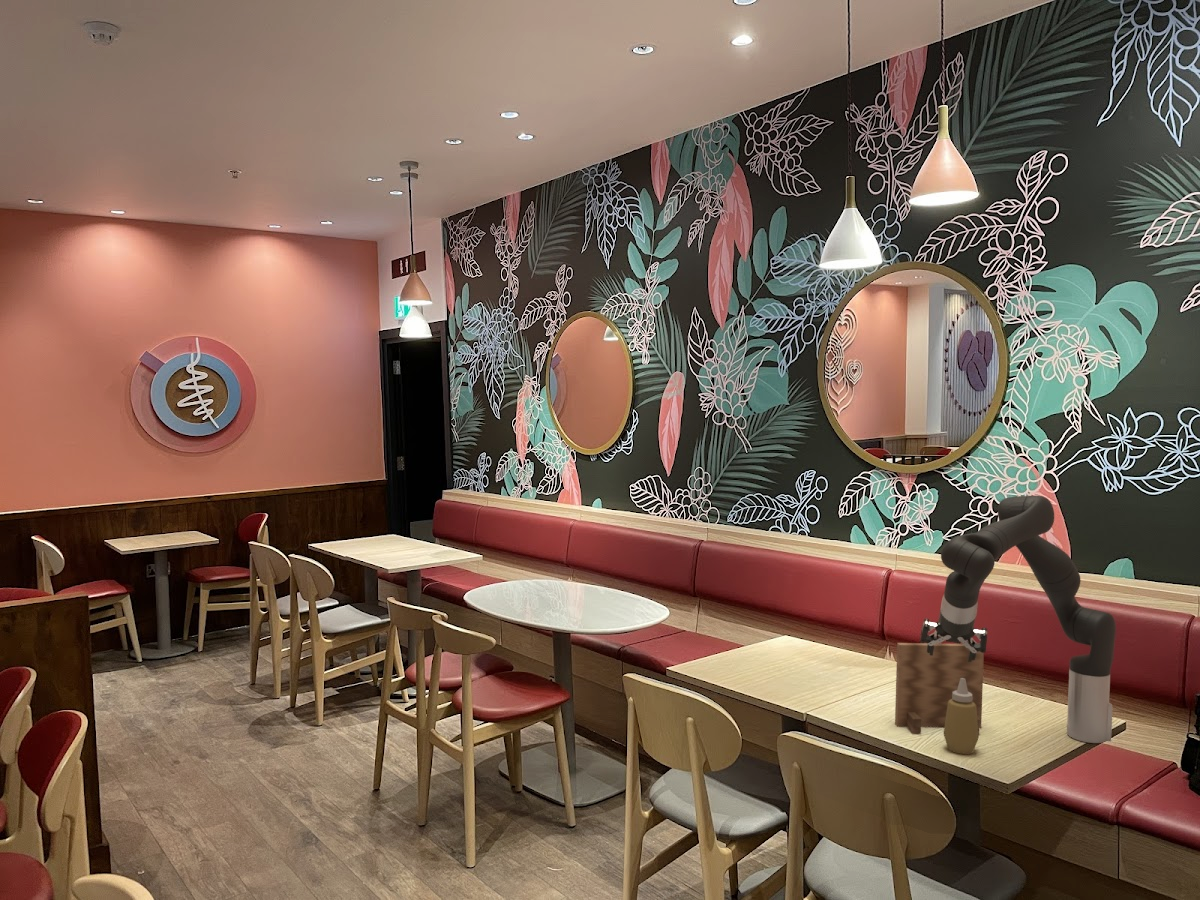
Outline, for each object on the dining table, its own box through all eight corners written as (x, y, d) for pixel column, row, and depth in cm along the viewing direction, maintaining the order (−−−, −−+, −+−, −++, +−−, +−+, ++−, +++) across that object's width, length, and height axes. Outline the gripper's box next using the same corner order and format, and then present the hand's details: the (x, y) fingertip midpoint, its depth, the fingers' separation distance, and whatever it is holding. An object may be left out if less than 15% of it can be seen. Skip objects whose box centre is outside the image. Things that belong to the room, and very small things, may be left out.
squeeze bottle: (949, 741, 226) (951, 671, 225) (982, 749, 221) (984, 678, 220) (938, 750, 220) (940, 679, 219) (972, 759, 215) (974, 686, 214)
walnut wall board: (978, 725, 237) (980, 644, 236) (988, 735, 230) (991, 651, 229) (894, 723, 238) (897, 642, 236) (903, 733, 231) (905, 650, 229)
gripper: (992, 603, 201) (982, 648, 211) (925, 593, 206) (919, 638, 216) (992, 628, 196) (982, 674, 206) (924, 617, 200) (917, 662, 210)
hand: (950, 655), depth 211 cm, fingers open, 8 cm apart
